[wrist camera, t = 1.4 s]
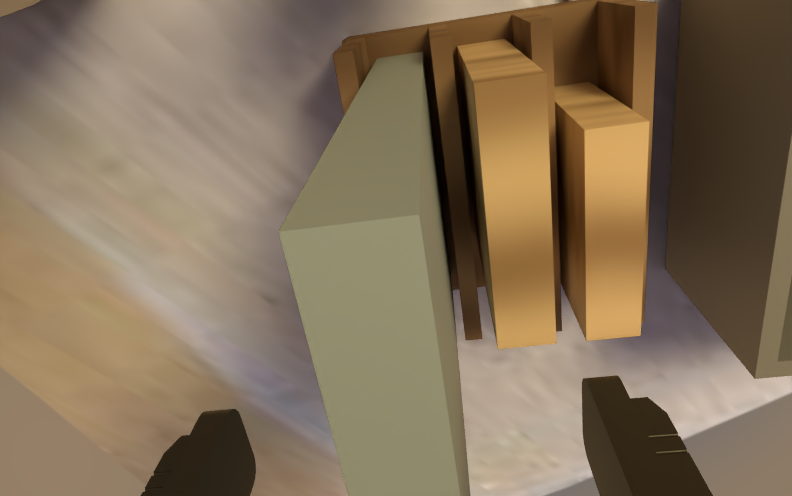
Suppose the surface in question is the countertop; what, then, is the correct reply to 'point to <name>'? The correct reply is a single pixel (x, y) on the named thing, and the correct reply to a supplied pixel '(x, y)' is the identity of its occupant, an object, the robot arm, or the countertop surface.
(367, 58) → the rack
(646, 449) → the robot arm
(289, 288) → the countertop surface
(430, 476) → the tall sheet
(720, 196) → the bin
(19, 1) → the soap bottle
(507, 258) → the oak offcut
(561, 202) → the beech offcut
